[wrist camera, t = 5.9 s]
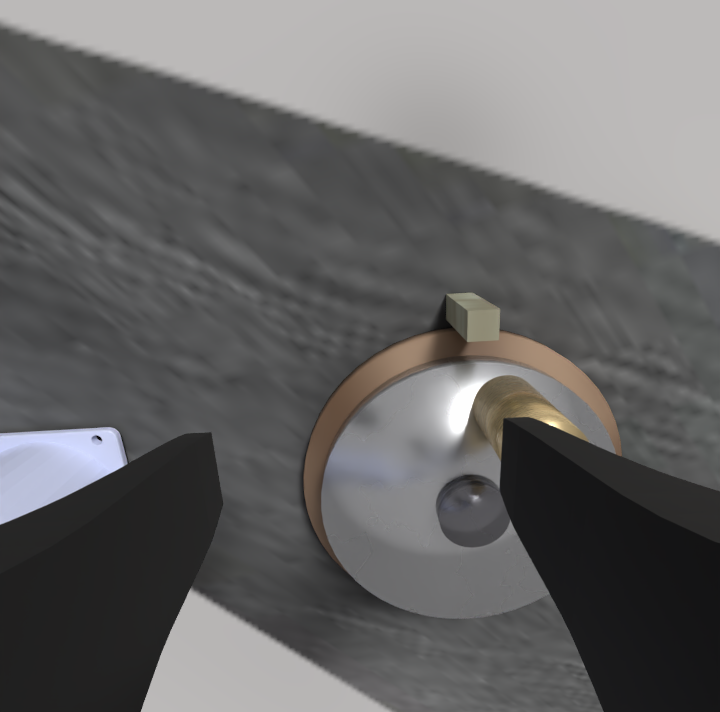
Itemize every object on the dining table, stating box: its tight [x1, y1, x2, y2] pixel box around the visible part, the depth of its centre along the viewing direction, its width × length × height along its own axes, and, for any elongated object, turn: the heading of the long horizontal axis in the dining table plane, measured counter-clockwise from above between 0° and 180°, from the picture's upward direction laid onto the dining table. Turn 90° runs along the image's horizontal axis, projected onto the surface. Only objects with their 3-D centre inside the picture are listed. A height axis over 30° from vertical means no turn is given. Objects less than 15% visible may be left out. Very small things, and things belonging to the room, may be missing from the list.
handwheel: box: [321, 355, 616, 619], centre depth 18 cm, size 14×14×6 cm
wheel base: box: [304, 293, 622, 575], centre depth 20 cm, size 16×18×4 cm
